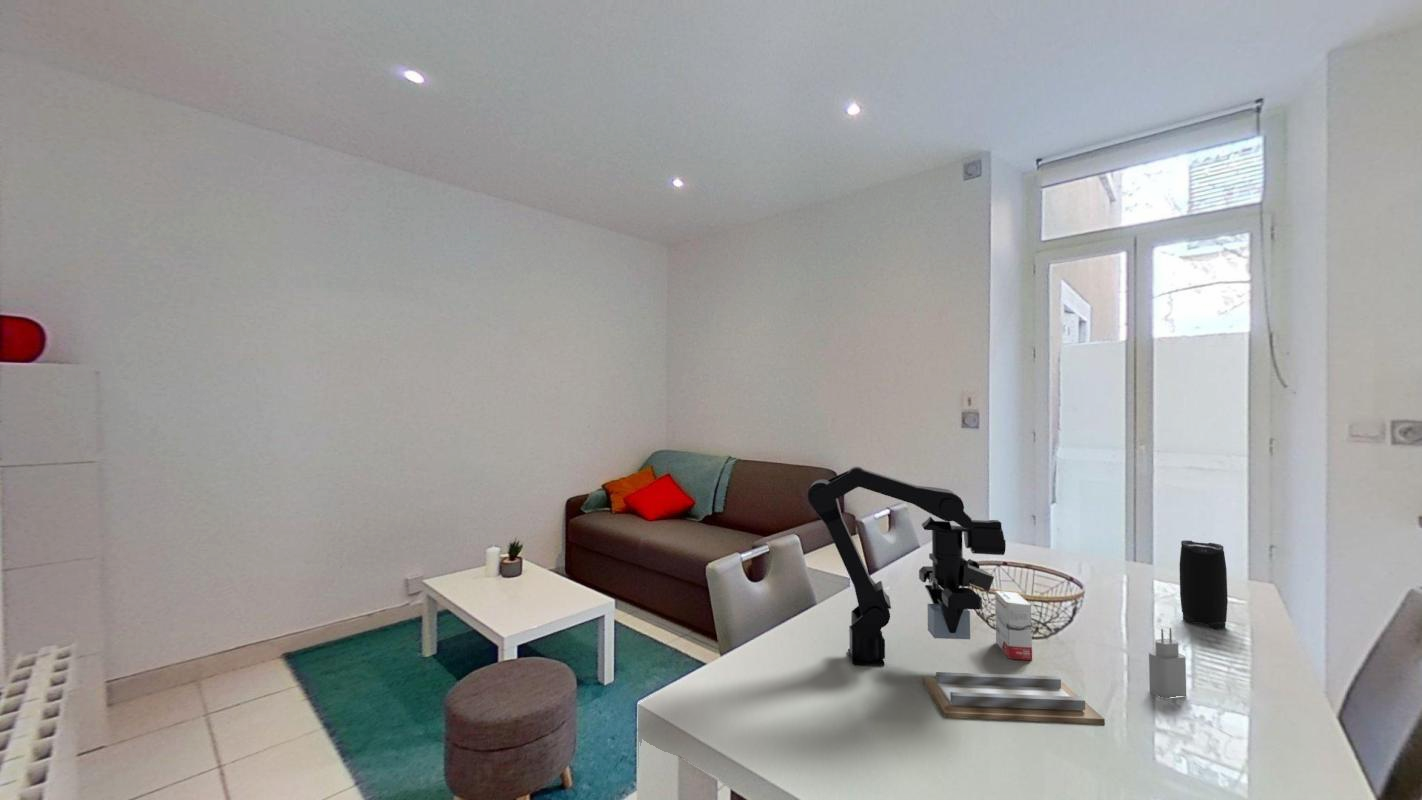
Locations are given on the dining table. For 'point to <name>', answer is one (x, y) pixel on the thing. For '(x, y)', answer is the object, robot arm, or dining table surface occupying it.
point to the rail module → (939, 625)
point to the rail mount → (1008, 698)
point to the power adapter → (1167, 669)
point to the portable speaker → (1203, 584)
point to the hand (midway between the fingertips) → (948, 628)
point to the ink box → (1013, 625)
